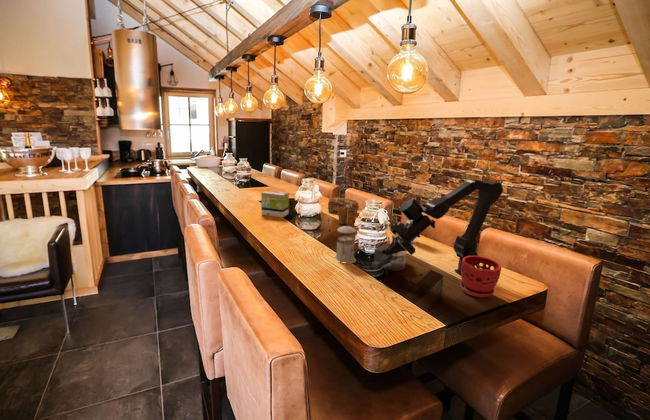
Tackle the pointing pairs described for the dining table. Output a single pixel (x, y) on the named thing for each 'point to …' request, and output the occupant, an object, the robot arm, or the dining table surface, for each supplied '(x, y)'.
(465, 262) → the plant pot
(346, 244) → the french press
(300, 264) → the dining table surface
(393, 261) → the pot
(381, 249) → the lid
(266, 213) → the tea box
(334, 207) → the bread
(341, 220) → the stuffed squirrel
